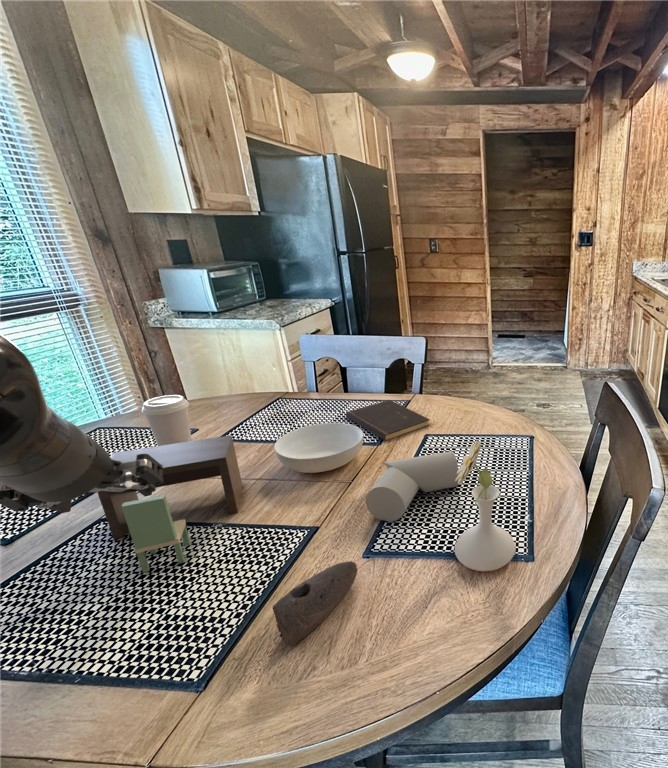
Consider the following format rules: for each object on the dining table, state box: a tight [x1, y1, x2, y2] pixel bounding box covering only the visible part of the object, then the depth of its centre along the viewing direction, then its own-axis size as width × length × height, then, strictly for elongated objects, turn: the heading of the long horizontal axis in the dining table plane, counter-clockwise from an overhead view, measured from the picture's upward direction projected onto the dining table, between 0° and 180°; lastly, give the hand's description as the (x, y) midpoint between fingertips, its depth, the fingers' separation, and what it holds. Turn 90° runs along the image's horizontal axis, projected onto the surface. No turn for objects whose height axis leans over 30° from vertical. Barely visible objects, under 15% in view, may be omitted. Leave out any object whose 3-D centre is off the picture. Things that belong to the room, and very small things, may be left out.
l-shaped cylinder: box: [365, 450, 460, 522], centre depth 94 cm, size 18×11×20 cm
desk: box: [97, 435, 243, 541], centre depth 86 cm, size 11×20×14 cm, turn 117°
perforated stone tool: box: [272, 561, 358, 648], centre depth 64 cm, size 15×5×7 cm, turn 152°
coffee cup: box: [141, 394, 193, 446], centre depth 108 cm, size 10×10×15 cm
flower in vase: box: [454, 440, 516, 572], centre depth 74 cm, size 13×11×25 cm
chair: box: [122, 494, 191, 574], centre depth 73 cm, size 6×6×14 cm
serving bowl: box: [273, 422, 364, 474], centre depth 107 cm, size 21×21×7 cm
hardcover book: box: [346, 399, 431, 442], centre depth 133 cm, size 16×23×2 cm
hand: (109, 497), depth 58 cm, fingers open, 8 cm apart
